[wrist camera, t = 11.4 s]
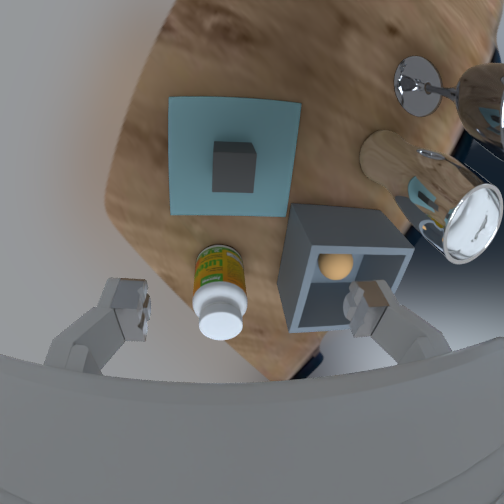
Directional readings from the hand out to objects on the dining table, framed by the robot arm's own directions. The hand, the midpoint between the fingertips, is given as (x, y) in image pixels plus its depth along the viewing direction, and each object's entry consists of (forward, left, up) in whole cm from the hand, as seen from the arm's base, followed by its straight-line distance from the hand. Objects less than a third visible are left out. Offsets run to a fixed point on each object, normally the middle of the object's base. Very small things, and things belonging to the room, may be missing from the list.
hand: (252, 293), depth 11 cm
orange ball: (+10, +12, -16) cm, 23 cm away
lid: (0, 0, -20) cm, 20 cm away
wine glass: (-11, +19, -19) cm, 29 cm away
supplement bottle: (+13, -1, -19) cm, 23 cm away
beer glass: (-2, +16, -19) cm, 25 cm away
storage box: (+10, +12, -19) cm, 25 cm away
